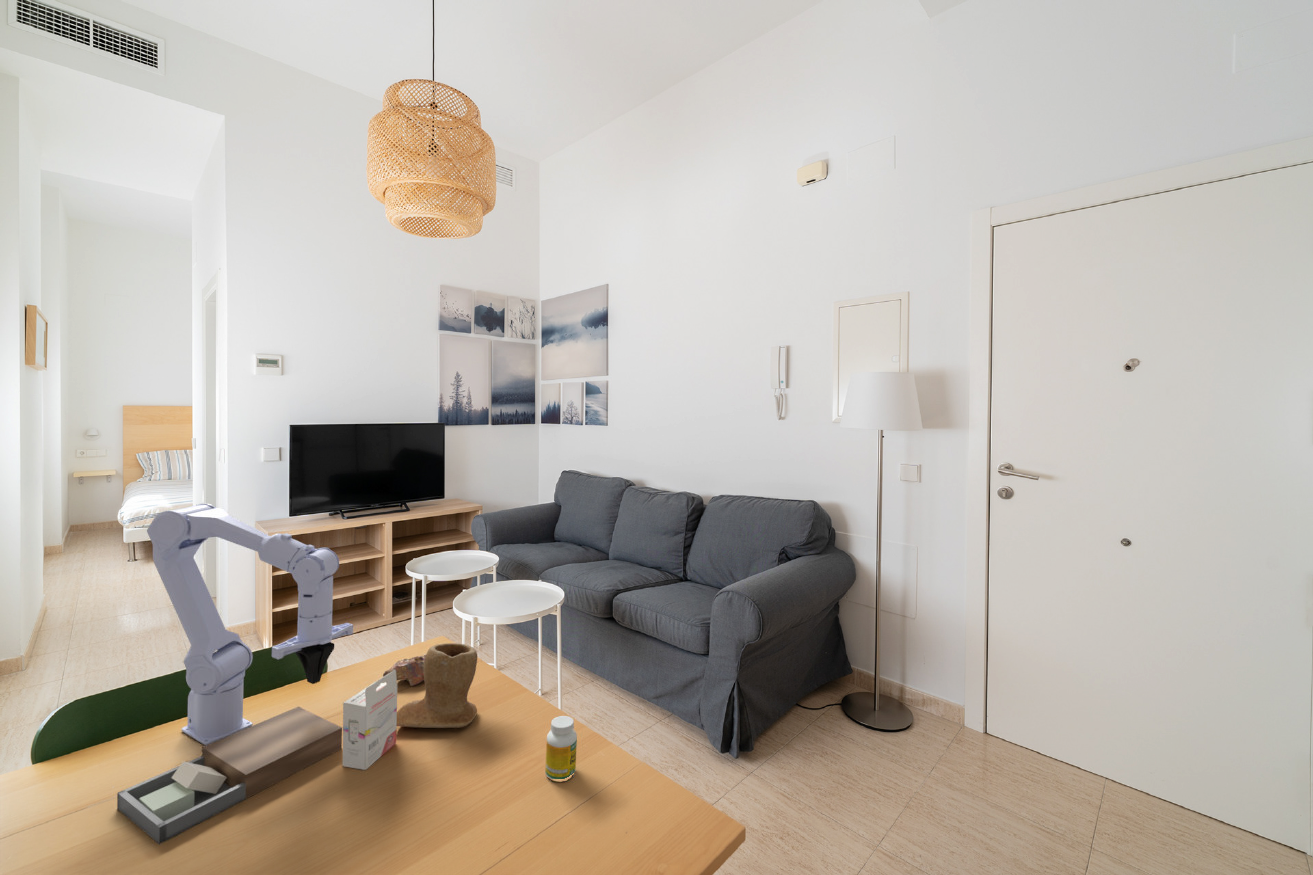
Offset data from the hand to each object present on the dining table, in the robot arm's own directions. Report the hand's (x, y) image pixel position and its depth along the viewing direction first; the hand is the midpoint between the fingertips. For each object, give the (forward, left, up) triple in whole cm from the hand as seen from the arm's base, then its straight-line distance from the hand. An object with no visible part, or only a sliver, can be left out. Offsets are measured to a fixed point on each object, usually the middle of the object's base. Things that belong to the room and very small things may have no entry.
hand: (313, 681), depth 108 cm
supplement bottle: (+49, +15, -10) cm, 52 cm away
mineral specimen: (-2, +24, -10) cm, 26 cm away
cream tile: (+3, -21, -8) cm, 22 cm away
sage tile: (+3, -24, -7) cm, 25 cm away
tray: (+3, -22, -10) cm, 24 cm away
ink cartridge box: (+16, +1, -10) cm, 19 cm away
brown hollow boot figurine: (+17, +16, -10) cm, 25 cm away
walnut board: (+3, -9, -10) cm, 13 cm away
